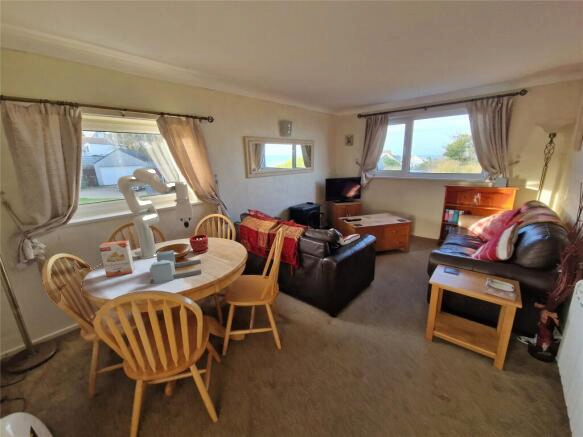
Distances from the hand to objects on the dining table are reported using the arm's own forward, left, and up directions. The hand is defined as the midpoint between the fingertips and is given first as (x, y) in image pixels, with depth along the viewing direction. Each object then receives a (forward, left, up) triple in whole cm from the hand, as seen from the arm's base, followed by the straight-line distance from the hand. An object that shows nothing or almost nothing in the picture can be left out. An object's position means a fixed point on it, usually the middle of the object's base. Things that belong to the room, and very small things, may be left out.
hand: (186, 227), depth 159 cm
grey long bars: (-8, -14, -25) cm, 30 cm away
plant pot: (+6, +16, -25) cm, 31 cm away
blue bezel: (-15, -14, -25) cm, 32 cm away
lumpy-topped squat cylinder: (-16, -15, -25) cm, 33 cm away
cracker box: (-42, -1, -25) cm, 49 cm away
